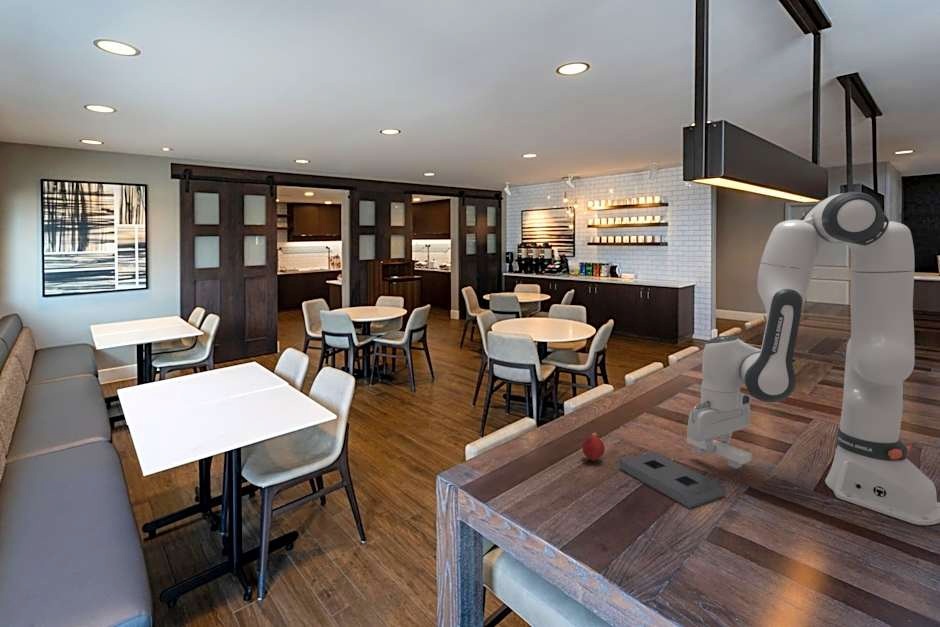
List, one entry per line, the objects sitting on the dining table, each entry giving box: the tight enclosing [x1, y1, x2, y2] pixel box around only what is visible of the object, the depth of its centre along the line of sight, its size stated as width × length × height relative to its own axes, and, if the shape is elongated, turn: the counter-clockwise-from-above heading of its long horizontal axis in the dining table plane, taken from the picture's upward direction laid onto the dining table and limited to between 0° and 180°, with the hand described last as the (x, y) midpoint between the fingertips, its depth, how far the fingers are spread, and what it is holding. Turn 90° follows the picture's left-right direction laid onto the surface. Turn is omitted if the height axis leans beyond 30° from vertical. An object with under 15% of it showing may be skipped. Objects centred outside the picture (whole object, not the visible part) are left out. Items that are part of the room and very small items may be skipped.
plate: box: [619, 451, 727, 509], centre depth 125 cm, size 22×12×2 cm, turn 27°
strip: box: [686, 435, 752, 469], centre depth 131 cm, size 16×4×4 cm, turn 28°
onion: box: [581, 432, 606, 462], centre depth 137 cm, size 6×6×8 cm
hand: (717, 449), depth 131 cm, fingers closed on strip, 3 cm apart
